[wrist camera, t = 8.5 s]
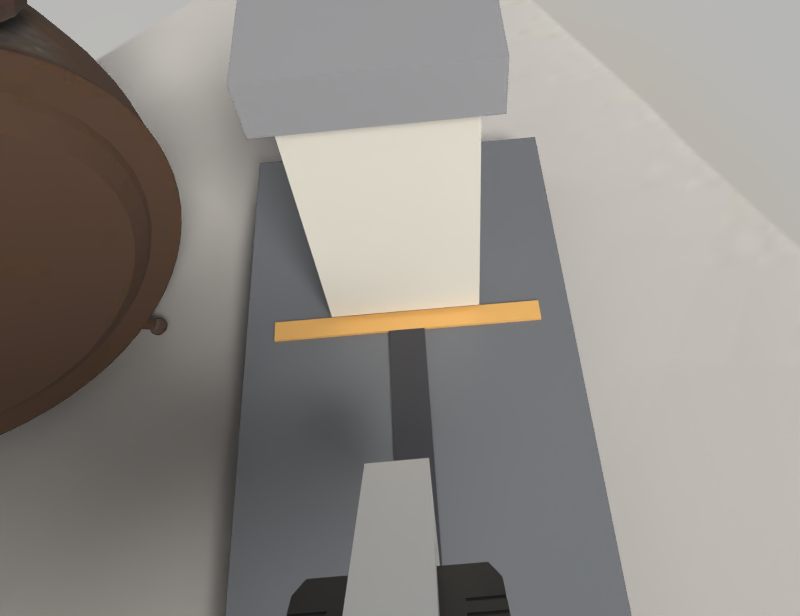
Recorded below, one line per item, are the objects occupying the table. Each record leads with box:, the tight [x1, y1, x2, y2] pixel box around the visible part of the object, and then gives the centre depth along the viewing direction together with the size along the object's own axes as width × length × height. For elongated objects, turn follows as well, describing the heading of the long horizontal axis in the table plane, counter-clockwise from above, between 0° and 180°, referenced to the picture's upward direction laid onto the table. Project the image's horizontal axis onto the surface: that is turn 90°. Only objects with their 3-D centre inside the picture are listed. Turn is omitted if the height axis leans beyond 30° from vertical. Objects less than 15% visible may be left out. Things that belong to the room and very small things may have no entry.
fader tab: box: [227, 0, 509, 317], centre depth 21 cm, size 6×4×11 cm, turn 93°
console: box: [225, 137, 631, 616], centre depth 23 cm, size 11×26×2 cm, turn 3°
